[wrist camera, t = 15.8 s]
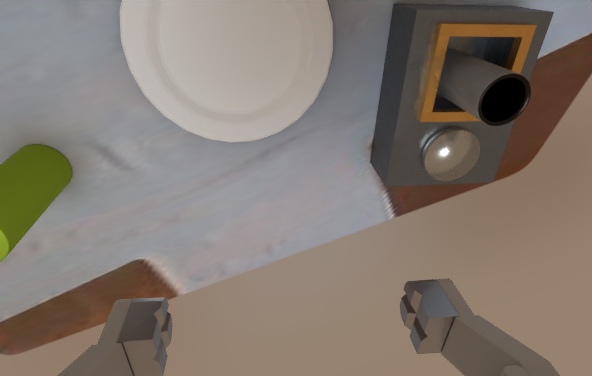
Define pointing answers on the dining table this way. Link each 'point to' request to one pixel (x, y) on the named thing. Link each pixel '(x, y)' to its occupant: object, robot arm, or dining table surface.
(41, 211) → the soap dispenser
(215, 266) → the dining table surface
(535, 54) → the grey box with knob
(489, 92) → the grey cylinder
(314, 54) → the plate
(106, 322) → the robot arm
